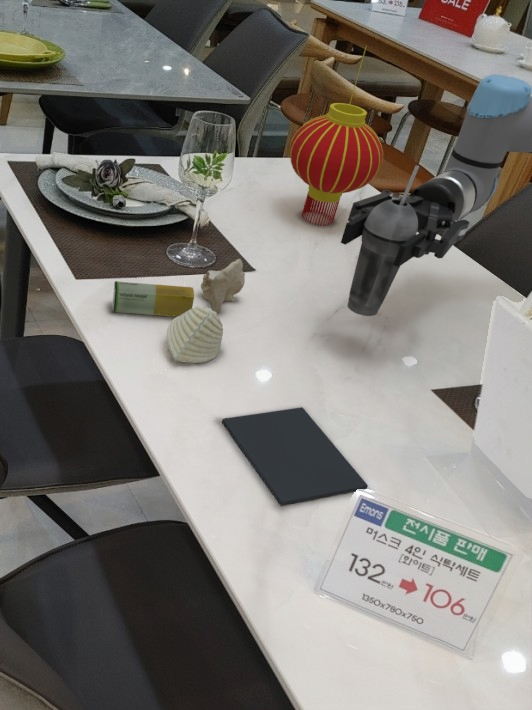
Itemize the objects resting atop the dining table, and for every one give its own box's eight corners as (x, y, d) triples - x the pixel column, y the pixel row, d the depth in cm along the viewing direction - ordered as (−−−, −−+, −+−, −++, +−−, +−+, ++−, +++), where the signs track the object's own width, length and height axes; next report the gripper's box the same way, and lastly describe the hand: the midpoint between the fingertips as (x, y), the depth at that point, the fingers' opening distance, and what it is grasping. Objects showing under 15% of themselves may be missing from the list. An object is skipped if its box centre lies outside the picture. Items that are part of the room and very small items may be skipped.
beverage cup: (327, 302, 111) (373, 160, 97) (357, 291, 115) (405, 152, 101) (367, 326, 108) (420, 182, 94) (397, 313, 112) (451, 173, 98)
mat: (366, 489, 92) (368, 485, 92) (280, 505, 88) (282, 502, 88) (301, 410, 103) (302, 407, 102) (221, 422, 98) (222, 418, 98)
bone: (213, 273, 125) (248, 235, 116) (237, 304, 125) (273, 269, 117) (180, 291, 120) (214, 253, 112) (204, 324, 120) (240, 289, 112)
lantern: (316, 196, 159) (363, 30, 139) (378, 231, 150) (437, 59, 129) (256, 207, 151) (296, 32, 130) (317, 244, 142) (370, 63, 121)
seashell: (239, 331, 111) (235, 329, 103) (201, 376, 113) (194, 378, 106) (196, 294, 111) (190, 290, 103) (159, 340, 113) (150, 339, 106)
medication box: (111, 313, 115) (113, 290, 112) (111, 302, 116) (113, 279, 113) (191, 318, 116) (195, 296, 113) (189, 308, 118) (193, 285, 115)
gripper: (492, 252, 114) (431, 301, 99) (371, 205, 121) (299, 244, 107) (515, 202, 108) (454, 245, 94) (387, 156, 116) (314, 190, 102)
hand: (372, 244), depth 101 cm, fingers closed on beverage cup, 7 cm apart
